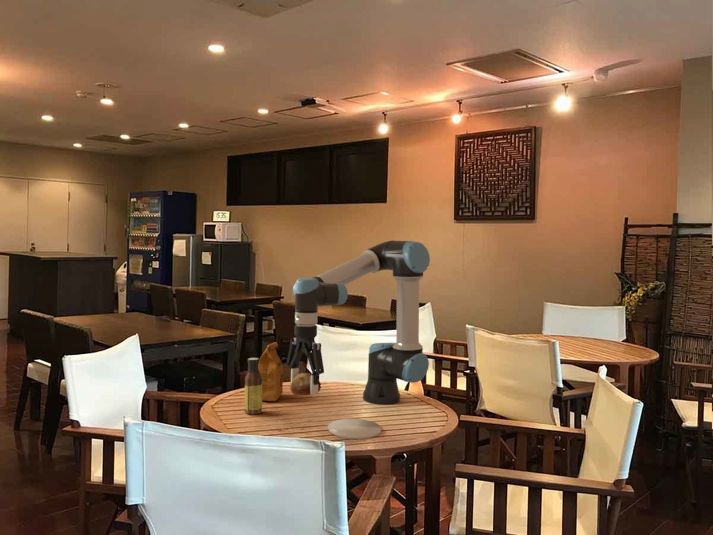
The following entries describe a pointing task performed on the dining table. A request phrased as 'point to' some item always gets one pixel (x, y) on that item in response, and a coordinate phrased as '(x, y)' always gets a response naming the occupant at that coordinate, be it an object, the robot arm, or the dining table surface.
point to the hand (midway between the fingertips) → (304, 390)
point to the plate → (354, 428)
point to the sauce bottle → (253, 388)
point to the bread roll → (302, 384)
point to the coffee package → (271, 374)
